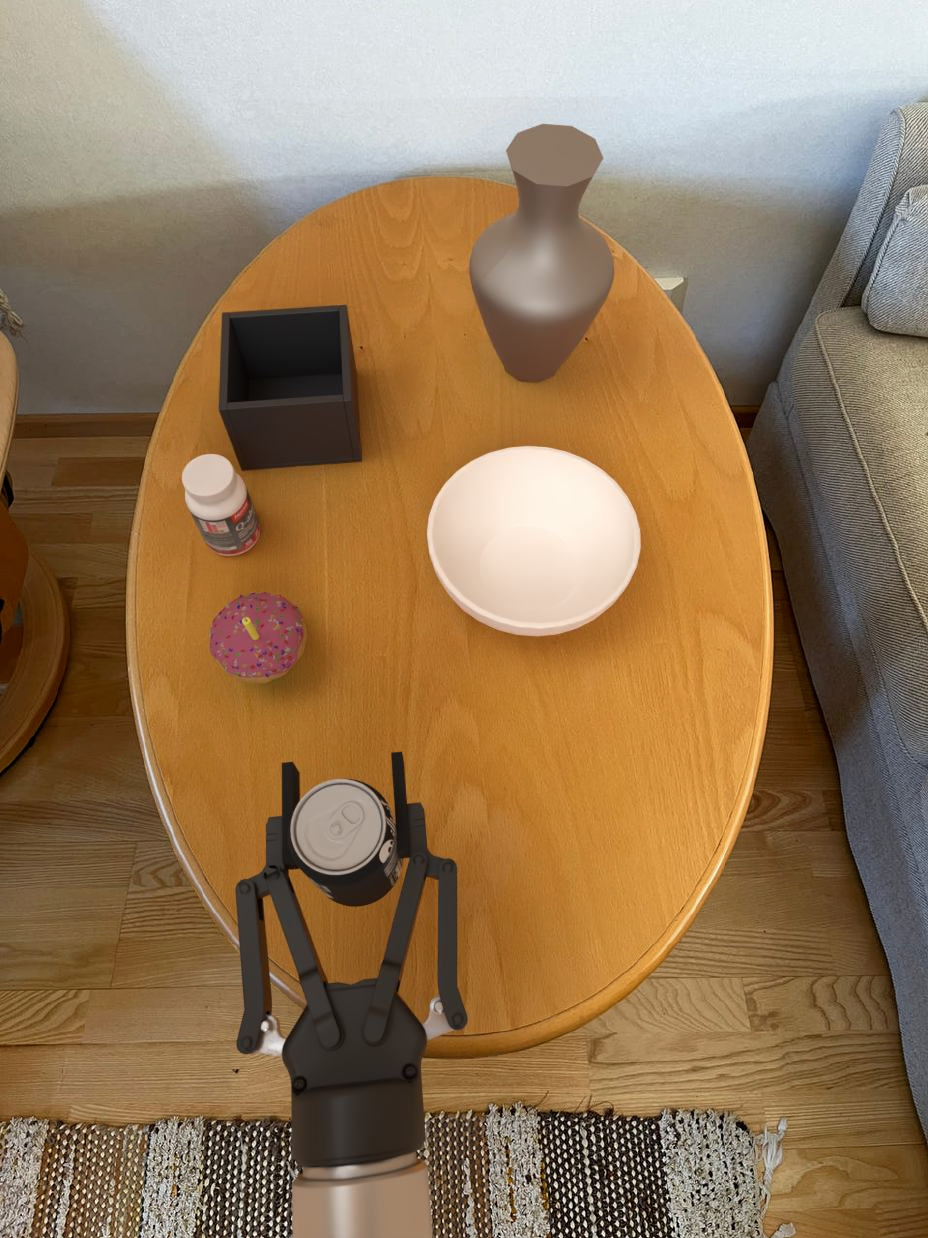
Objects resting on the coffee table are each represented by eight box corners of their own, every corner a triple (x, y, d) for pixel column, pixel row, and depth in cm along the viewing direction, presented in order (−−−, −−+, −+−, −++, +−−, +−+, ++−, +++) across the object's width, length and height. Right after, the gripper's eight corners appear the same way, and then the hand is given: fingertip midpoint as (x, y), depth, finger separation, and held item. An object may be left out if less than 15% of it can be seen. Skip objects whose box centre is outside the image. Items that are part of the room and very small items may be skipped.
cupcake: (325, 681, 77) (304, 624, 67) (235, 713, 76) (199, 660, 65) (298, 604, 81) (274, 538, 70) (212, 633, 79) (174, 570, 69)
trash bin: (241, 470, 88) (218, 409, 79) (243, 378, 93) (221, 312, 85) (361, 461, 88) (351, 400, 80) (356, 370, 94) (346, 303, 85)
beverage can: (294, 861, 61) (260, 825, 50) (361, 797, 63) (342, 750, 52) (355, 928, 59) (333, 906, 48) (422, 861, 61) (415, 825, 50)
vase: (596, 319, 98) (639, 107, 75) (592, 416, 91) (636, 216, 69) (473, 308, 98) (479, 94, 76) (460, 404, 92) (463, 201, 70)
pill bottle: (258, 558, 83) (235, 501, 74) (201, 558, 83) (170, 501, 74) (264, 509, 86) (242, 448, 77) (208, 509, 86) (179, 449, 77)
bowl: (652, 638, 80) (670, 604, 73) (451, 679, 78) (451, 647, 71) (594, 473, 88) (605, 429, 82) (412, 506, 86) (408, 463, 80)
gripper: (202, 1171, 50) (213, 790, 60) (526, 1132, 51) (484, 764, 61) (163, 1194, 43) (183, 760, 53) (538, 1148, 44) (488, 732, 54)
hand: (344, 763), depth 57 cm, fingers closed on beverage can, 7 cm apart
